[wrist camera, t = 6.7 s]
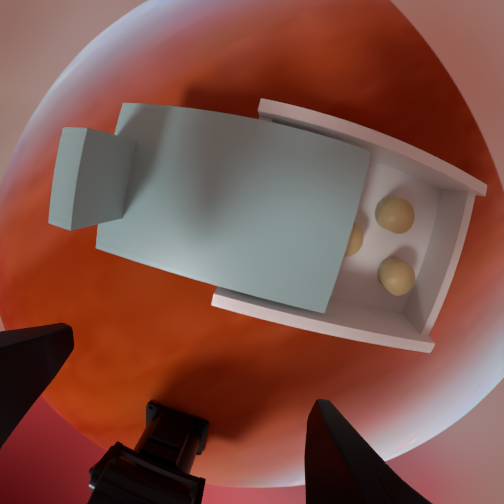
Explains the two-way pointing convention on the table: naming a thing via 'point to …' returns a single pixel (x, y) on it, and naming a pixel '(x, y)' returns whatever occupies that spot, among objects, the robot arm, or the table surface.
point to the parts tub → (382, 241)
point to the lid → (215, 198)
